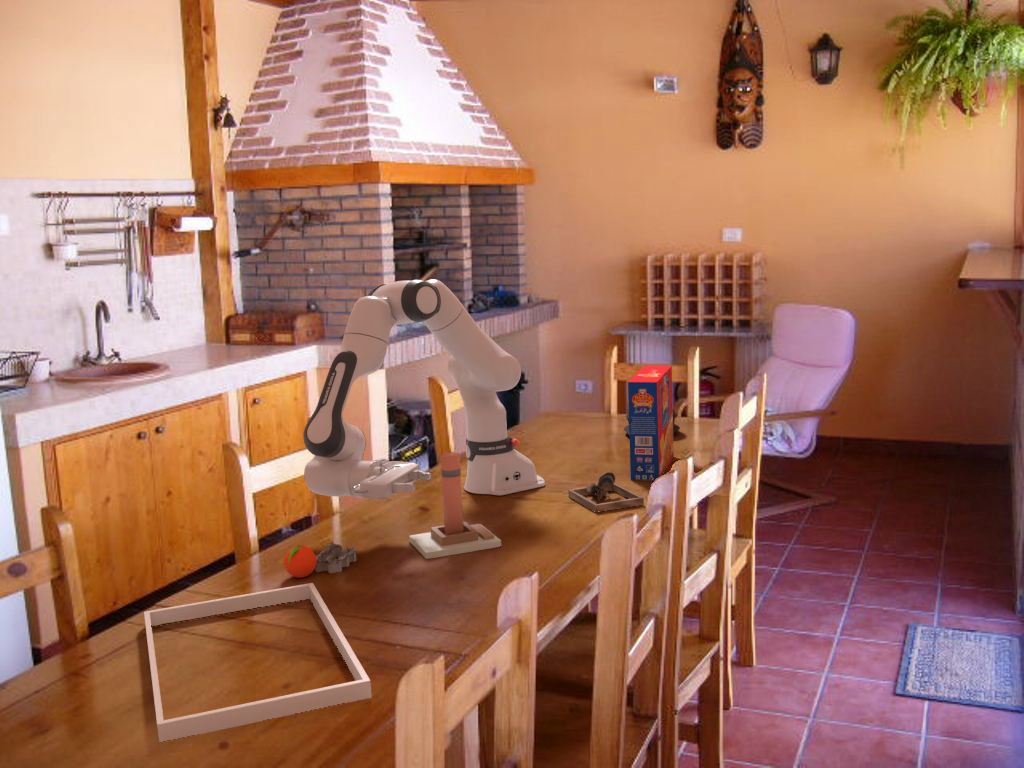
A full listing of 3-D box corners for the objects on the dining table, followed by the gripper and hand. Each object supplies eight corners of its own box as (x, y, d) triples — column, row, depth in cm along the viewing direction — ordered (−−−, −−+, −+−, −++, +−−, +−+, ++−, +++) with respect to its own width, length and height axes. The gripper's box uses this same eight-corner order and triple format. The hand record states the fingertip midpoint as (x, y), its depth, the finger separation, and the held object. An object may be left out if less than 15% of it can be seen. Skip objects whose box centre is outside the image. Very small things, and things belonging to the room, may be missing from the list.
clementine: (304, 585, 225) (301, 553, 224) (276, 582, 227) (273, 551, 226) (323, 572, 232) (321, 541, 231) (296, 570, 235) (293, 539, 234)
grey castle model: (334, 557, 243) (332, 540, 243) (362, 559, 240) (360, 542, 240) (307, 572, 234) (306, 554, 233) (336, 575, 231) (335, 557, 230)
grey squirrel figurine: (619, 498, 274) (622, 483, 282) (603, 477, 273) (606, 462, 281) (596, 512, 277) (599, 497, 285) (579, 492, 275) (583, 477, 284)
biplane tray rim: (313, 596, 218) (312, 582, 218) (371, 697, 172) (370, 680, 172) (145, 626, 207) (143, 611, 206) (159, 743, 161) (157, 724, 160)
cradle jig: (481, 530, 257) (480, 516, 256) (501, 546, 244) (500, 531, 243) (409, 541, 251) (408, 527, 250) (426, 559, 238) (425, 544, 237)
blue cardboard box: (659, 481, 293) (656, 382, 288) (630, 480, 295) (628, 381, 291) (673, 456, 319) (671, 365, 315) (647, 456, 322) (645, 365, 317)
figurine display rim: (614, 489, 286) (614, 482, 286) (643, 505, 271) (643, 497, 271) (568, 497, 282) (568, 489, 281) (595, 513, 266) (595, 505, 266)
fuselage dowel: (460, 533, 250) (456, 451, 247) (466, 539, 246) (462, 455, 242) (442, 536, 248) (437, 453, 245) (448, 542, 244) (443, 458, 241)
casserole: (631, 425, 366) (630, 401, 364) (685, 426, 360) (684, 402, 359) (616, 442, 342) (615, 416, 341) (674, 443, 337) (673, 417, 335)
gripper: (347, 477, 241) (403, 480, 237) (385, 456, 260) (437, 458, 256) (349, 504, 242) (404, 507, 238) (387, 481, 261) (439, 483, 257)
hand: (422, 482), depth 247 cm, fingers open, 8 cm apart
